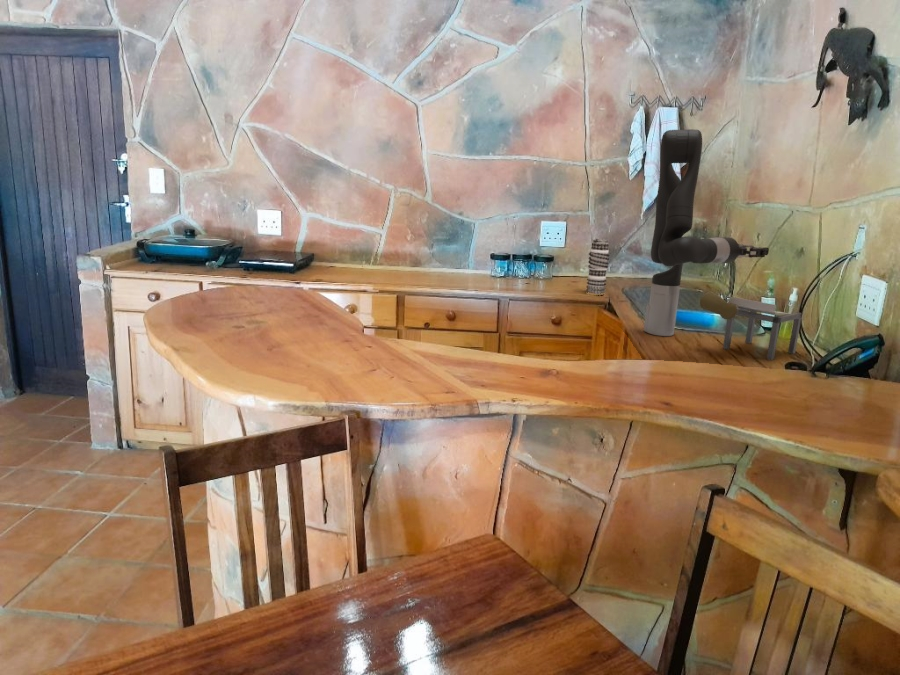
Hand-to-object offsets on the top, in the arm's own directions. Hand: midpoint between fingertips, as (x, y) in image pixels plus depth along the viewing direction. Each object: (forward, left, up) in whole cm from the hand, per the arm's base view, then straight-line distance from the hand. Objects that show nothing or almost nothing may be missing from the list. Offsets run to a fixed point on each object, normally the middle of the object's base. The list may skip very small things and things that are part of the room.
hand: (754, 249), depth 195 cm
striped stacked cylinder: (-90, +41, -32) cm, 104 cm away
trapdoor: (+2, +5, -19) cm, 20 cm away
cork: (-10, -4, -17) cm, 20 cm away
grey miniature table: (+2, +9, -32) cm, 33 cm away
